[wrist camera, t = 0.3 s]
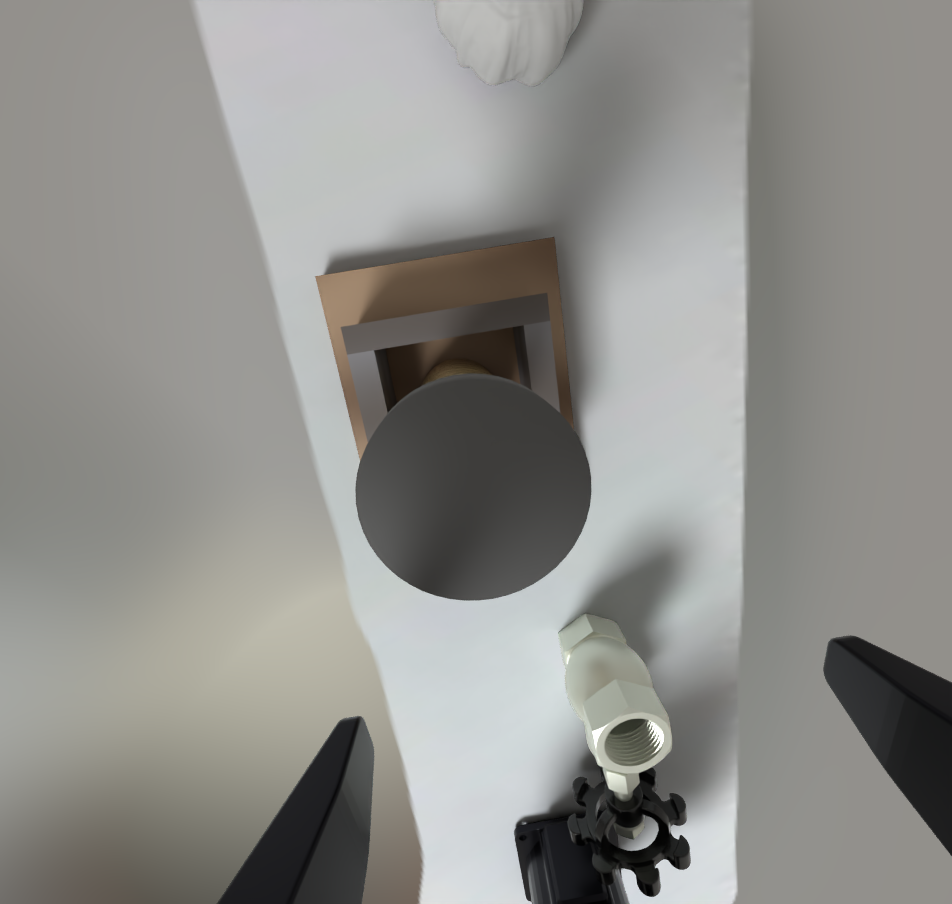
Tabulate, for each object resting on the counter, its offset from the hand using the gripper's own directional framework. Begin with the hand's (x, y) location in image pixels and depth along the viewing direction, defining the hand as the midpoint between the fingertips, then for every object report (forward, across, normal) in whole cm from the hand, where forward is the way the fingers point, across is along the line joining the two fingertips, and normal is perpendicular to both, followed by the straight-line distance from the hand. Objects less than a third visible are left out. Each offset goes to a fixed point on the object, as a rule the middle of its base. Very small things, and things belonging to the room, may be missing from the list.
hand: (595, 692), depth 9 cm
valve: (+13, -3, +16) cm, 21 cm away
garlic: (+16, -2, -16) cm, 23 cm away
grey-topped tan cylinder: (+14, +2, -2) cm, 14 cm away
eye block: (+15, +2, -2) cm, 15 cm away
